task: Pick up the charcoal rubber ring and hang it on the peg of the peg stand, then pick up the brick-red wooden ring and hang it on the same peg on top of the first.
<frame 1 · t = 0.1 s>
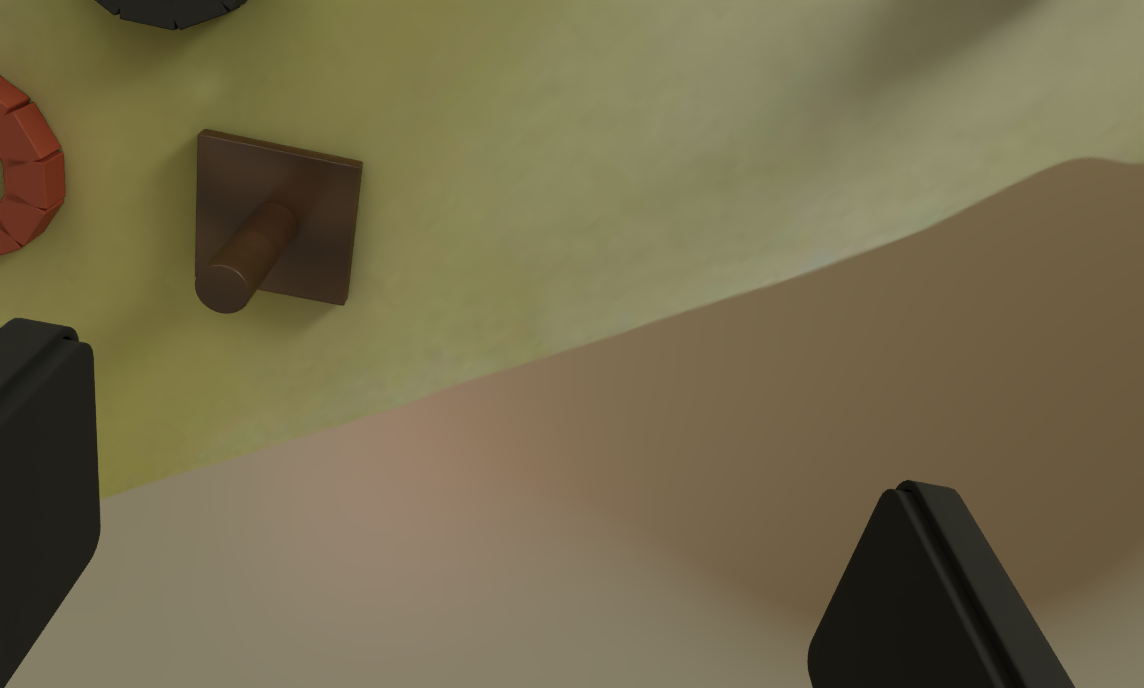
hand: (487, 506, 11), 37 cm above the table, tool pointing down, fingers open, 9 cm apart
peg stand: (279, 217, 48), on the table
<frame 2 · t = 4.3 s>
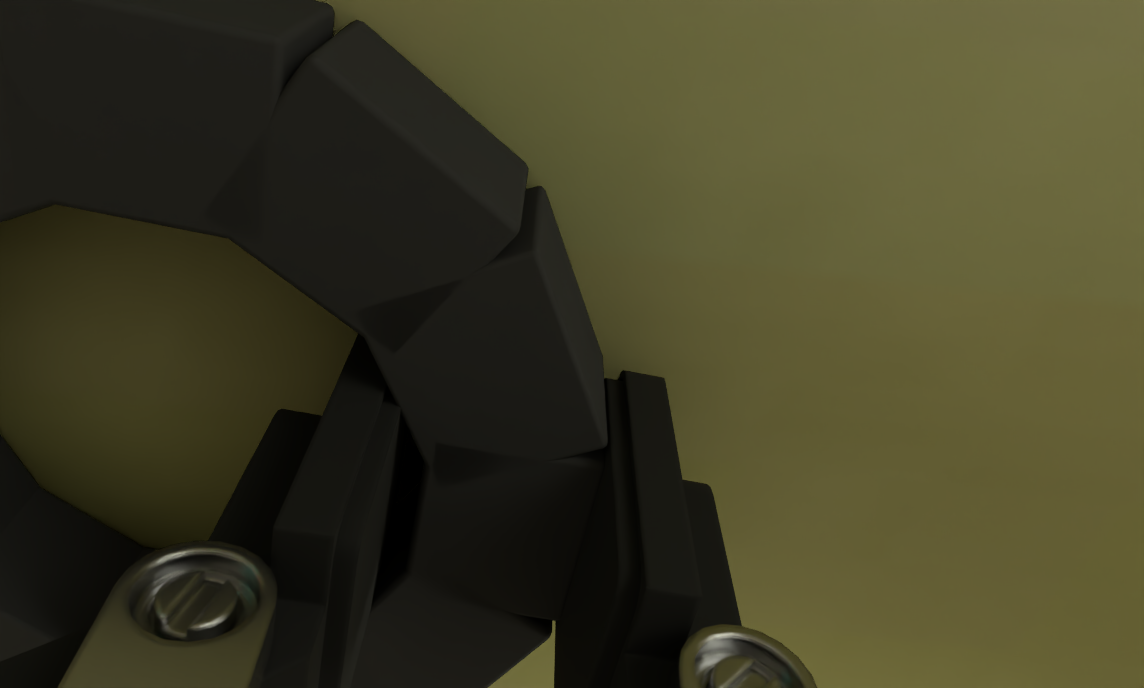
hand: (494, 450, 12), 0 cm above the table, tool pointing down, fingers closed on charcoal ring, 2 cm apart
charcoal ring: (206, 381, 12), on the table, touching gripper
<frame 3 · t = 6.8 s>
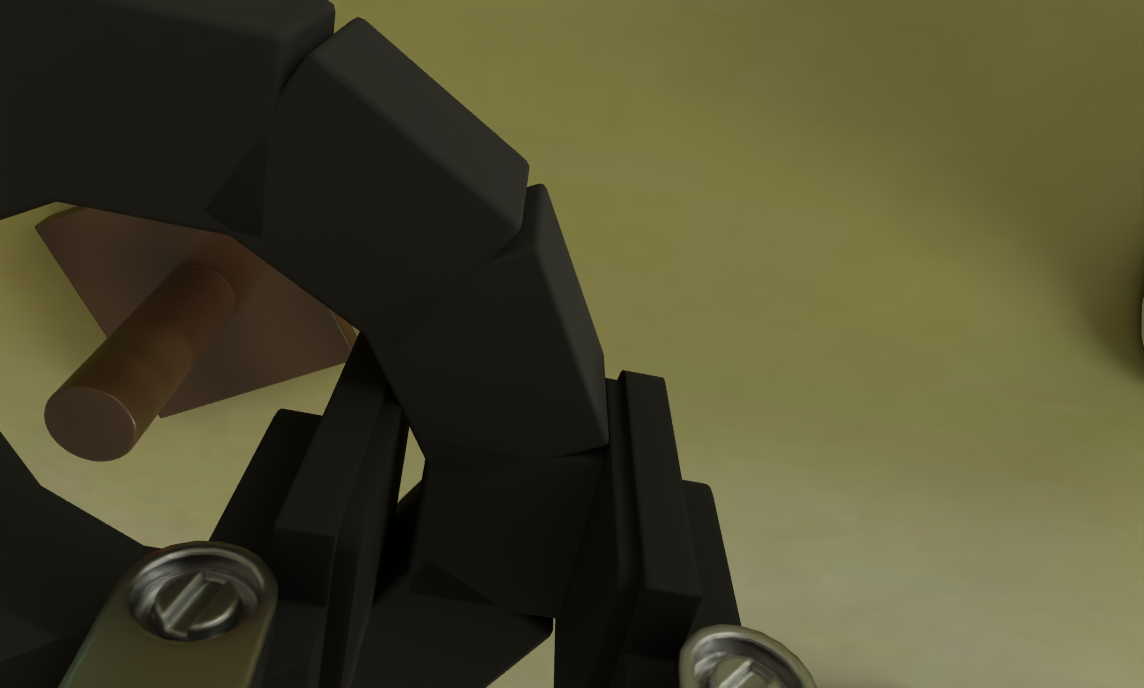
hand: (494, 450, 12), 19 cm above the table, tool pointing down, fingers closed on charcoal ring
peg stand: (211, 283, 32), on the table
charcoal ring: (207, 379, 12), point 19 cm above the table, touching gripper
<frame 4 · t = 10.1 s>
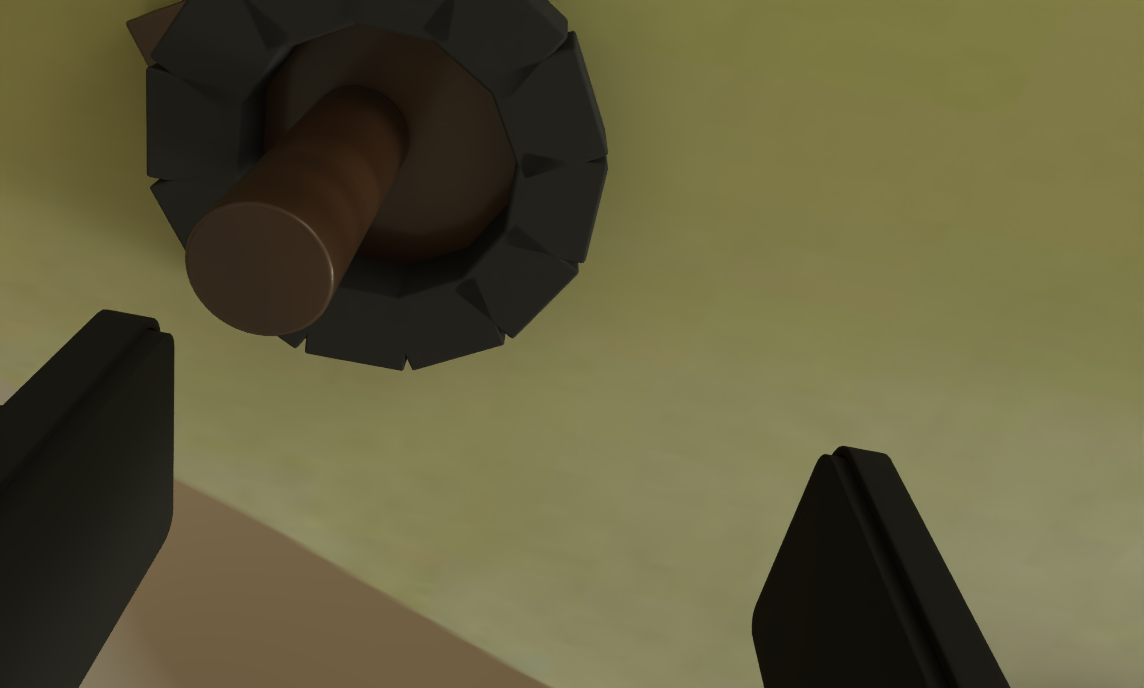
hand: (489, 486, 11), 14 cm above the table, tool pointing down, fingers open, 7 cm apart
peg stand: (367, 124, 23), on the table
charcoal ring: (392, 145, 22), point 1 cm above the table, touching peg stand
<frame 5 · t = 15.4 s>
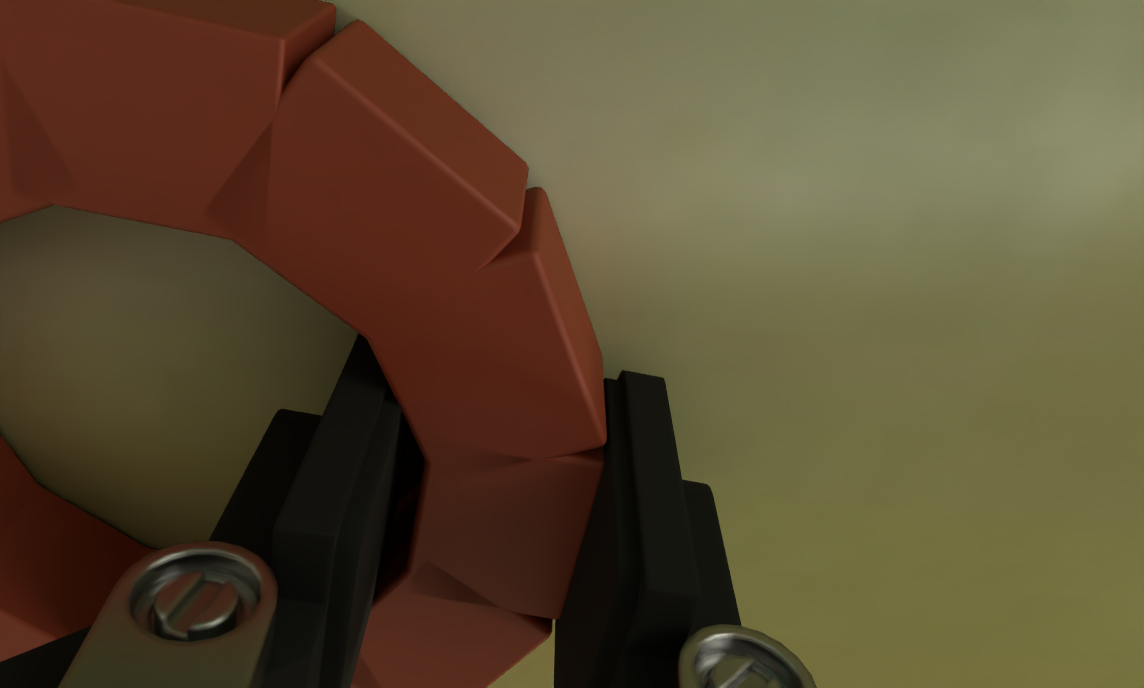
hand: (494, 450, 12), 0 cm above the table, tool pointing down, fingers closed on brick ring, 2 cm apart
brick ring: (207, 380, 12), on the table, touching gripper
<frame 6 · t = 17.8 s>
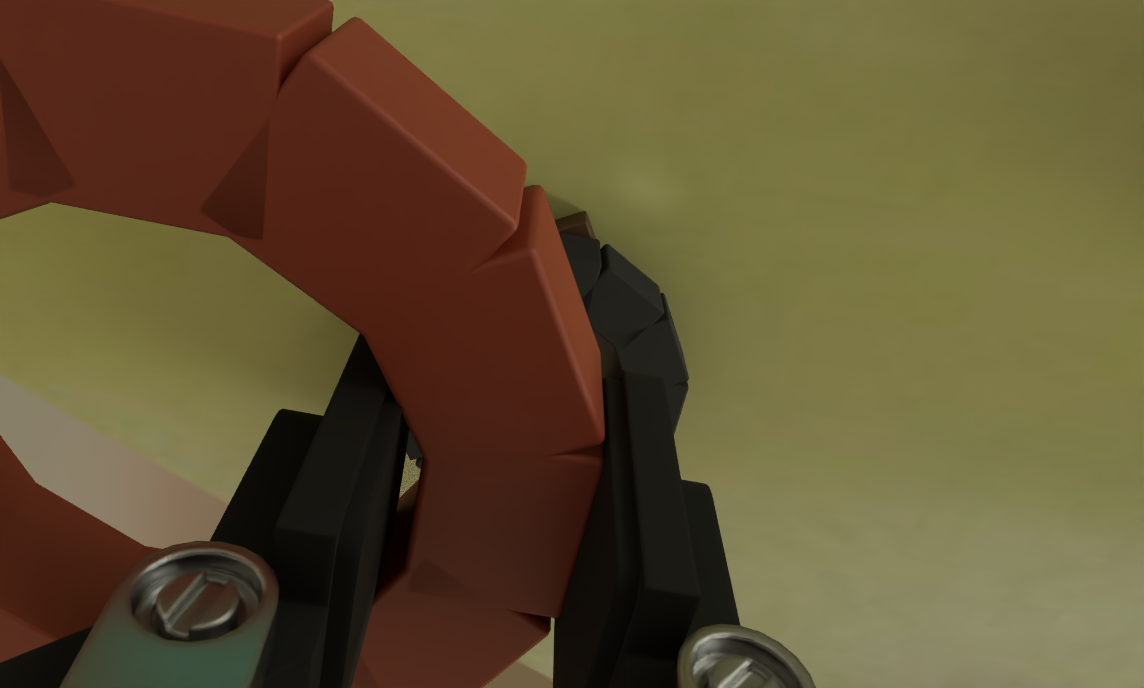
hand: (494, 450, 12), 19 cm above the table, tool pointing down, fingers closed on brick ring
brick ring: (205, 379, 12), point 18 cm above the table, touching gripper
peg stand: (515, 343, 32), on the table
charcoal ring: (536, 362, 32), point 1 cm above the table, touching peg stand
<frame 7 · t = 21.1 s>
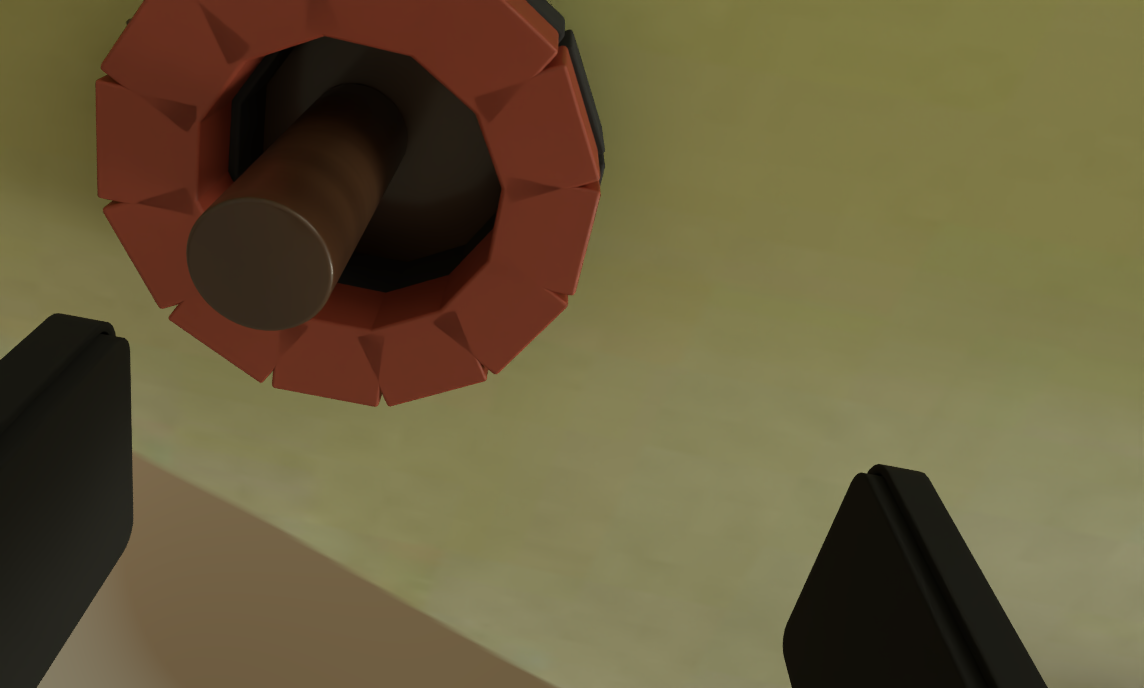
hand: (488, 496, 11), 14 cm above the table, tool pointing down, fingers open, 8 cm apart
brick ring: (367, 165, 20), point 3 cm above the table, touching charcoal ring
peg stand: (366, 122, 23), on the table
charcoal ring: (390, 143, 22), point 1 cm above the table, touching brick ring, peg stand
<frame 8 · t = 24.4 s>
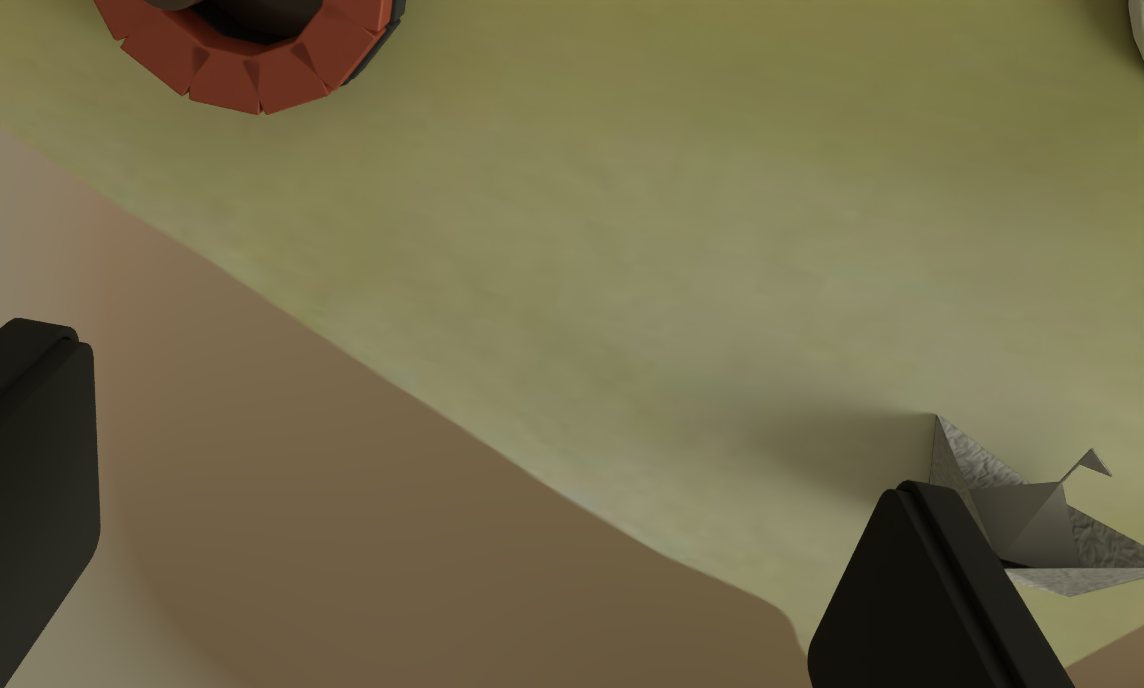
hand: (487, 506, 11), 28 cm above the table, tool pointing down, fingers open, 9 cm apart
grey angular piece: (1015, 473, 46), on the table
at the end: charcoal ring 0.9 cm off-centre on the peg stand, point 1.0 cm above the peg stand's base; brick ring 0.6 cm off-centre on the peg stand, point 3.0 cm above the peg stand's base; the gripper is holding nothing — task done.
